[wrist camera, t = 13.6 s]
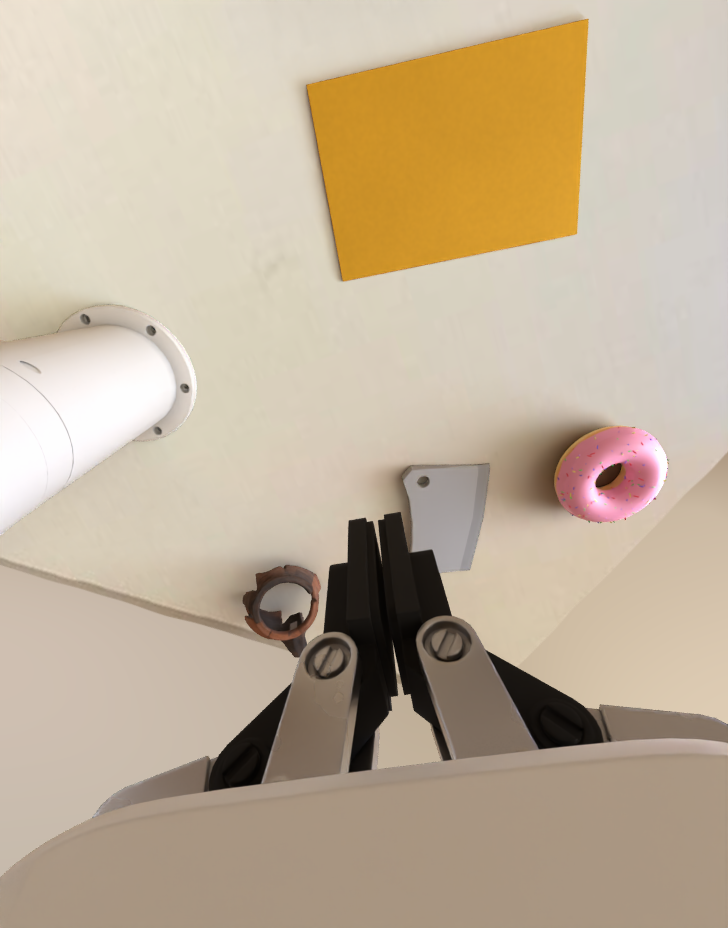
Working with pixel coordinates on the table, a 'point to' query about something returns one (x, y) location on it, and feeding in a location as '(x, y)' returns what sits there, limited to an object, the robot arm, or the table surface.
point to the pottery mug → (272, 621)
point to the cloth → (454, 151)
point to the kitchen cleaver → (447, 511)
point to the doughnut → (595, 454)
